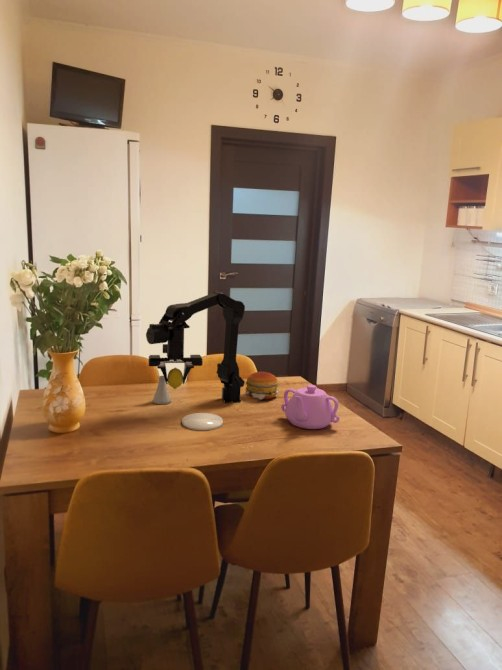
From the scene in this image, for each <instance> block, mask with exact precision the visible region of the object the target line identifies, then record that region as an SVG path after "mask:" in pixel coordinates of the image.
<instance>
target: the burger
mask: <svg viewBox="0 0 502 670" xmlns="http://www.w3.org/2000/svg"><path fill="white" fill-rule="evenodd" d="M278 384H279V381H278V378H277V377H276V376H275V375H274V374H272V373H270V372H267V371H256V372H253V373H251V374H249V375H248V377H247V378H246V381H245V385H246V387H245V394H247V396H248V397H250V398H252V399H257V400H272V399H273V398H274V399H275V397H276V395H279V391H278V390H279V389H278V387H279V386H278Z"/></svg>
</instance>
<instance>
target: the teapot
mask: <svg viewBox="0 0 502 670" xmlns="http://www.w3.org/2000/svg"><path fill="white" fill-rule="evenodd" d="M289 392H291V393H293V394H292V396H291V397H290V399H289V397H288V396H289V395H288V394H289ZM283 400H284V403H283V404H281V405H280V408H281V410H282V411H283V412H285V413H284V415H285V418H286V419H287V420H288V421H289V423H290V424H292V425H293V426H295V427H298V428H303V429H306V430H309V429H310V430H318V429H325V428H327V427H328V426H329V425H330V424H332V423H333V424H337V423H339V422H340V420H341V419H340V416H339V415H338V414H337V412H338V409H339V400H338V399H337V398H336V397H335V396H332V395H328V394H327V392H326V391H325V390H323V389H320V388H317V385H315V384H307V385H306V387H300V388H298V389H295V388H287V389H286V390H285V391H284V393H283ZM332 401H333V403H334V407H333V404H332Z"/></svg>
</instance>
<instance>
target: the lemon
mask: <svg viewBox="0 0 502 670" xmlns="http://www.w3.org/2000/svg"><path fill="white" fill-rule="evenodd" d="M167 380H168V382H167V385H169V387H171V388H172V389H173V390H176V389H177V388H180V387H181V386H182V384H183V372H182V371H181V370H180V369H179V368H177V367H174V368H172V369H169V371H168V373H167Z"/></svg>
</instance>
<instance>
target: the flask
mask: <svg viewBox="0 0 502 670" xmlns="http://www.w3.org/2000/svg"><path fill="white" fill-rule="evenodd" d="M157 378H158V383H157V388H156V391H155V393H154V396H153V399H152V403H153V404H155V405H156V404H157V405H168V404H171V403H172V399H171V397H170V394H169V391H168V386H167V384H166V381H165V378H164V375H158V376H157Z"/></svg>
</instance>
